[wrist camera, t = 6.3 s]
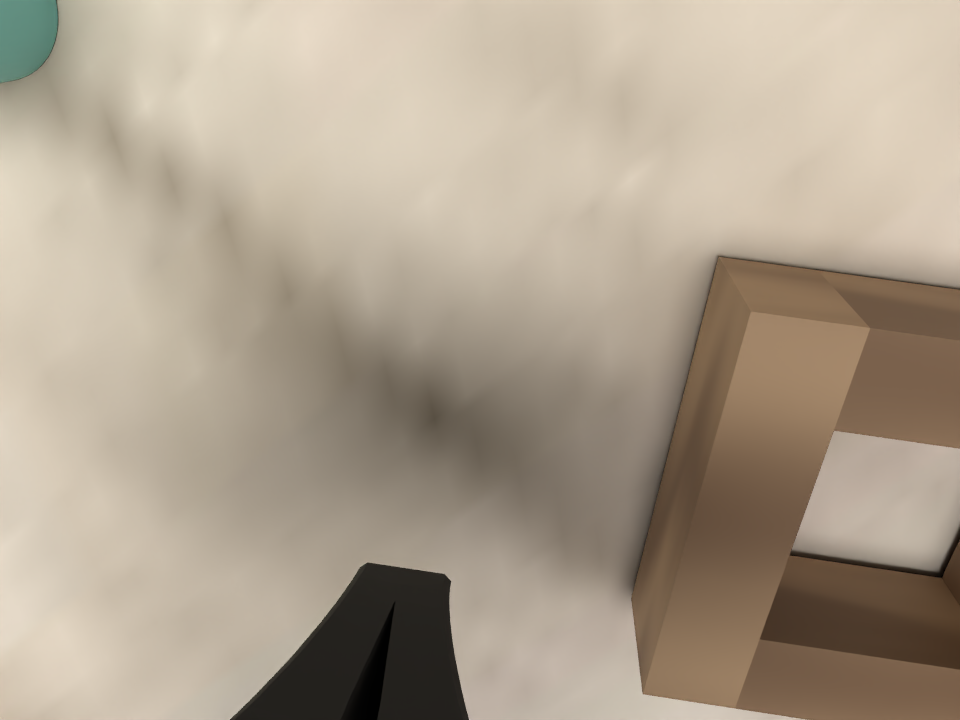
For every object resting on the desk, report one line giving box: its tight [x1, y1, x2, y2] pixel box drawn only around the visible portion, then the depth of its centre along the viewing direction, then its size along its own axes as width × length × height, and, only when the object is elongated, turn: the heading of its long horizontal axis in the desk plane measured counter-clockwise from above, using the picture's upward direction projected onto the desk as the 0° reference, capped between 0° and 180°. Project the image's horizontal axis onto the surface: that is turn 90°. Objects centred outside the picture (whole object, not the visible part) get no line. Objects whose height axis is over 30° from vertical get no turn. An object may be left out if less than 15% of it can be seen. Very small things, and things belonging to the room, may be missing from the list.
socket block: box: [631, 257, 960, 720], centre depth 17 cm, size 9×9×3 cm
